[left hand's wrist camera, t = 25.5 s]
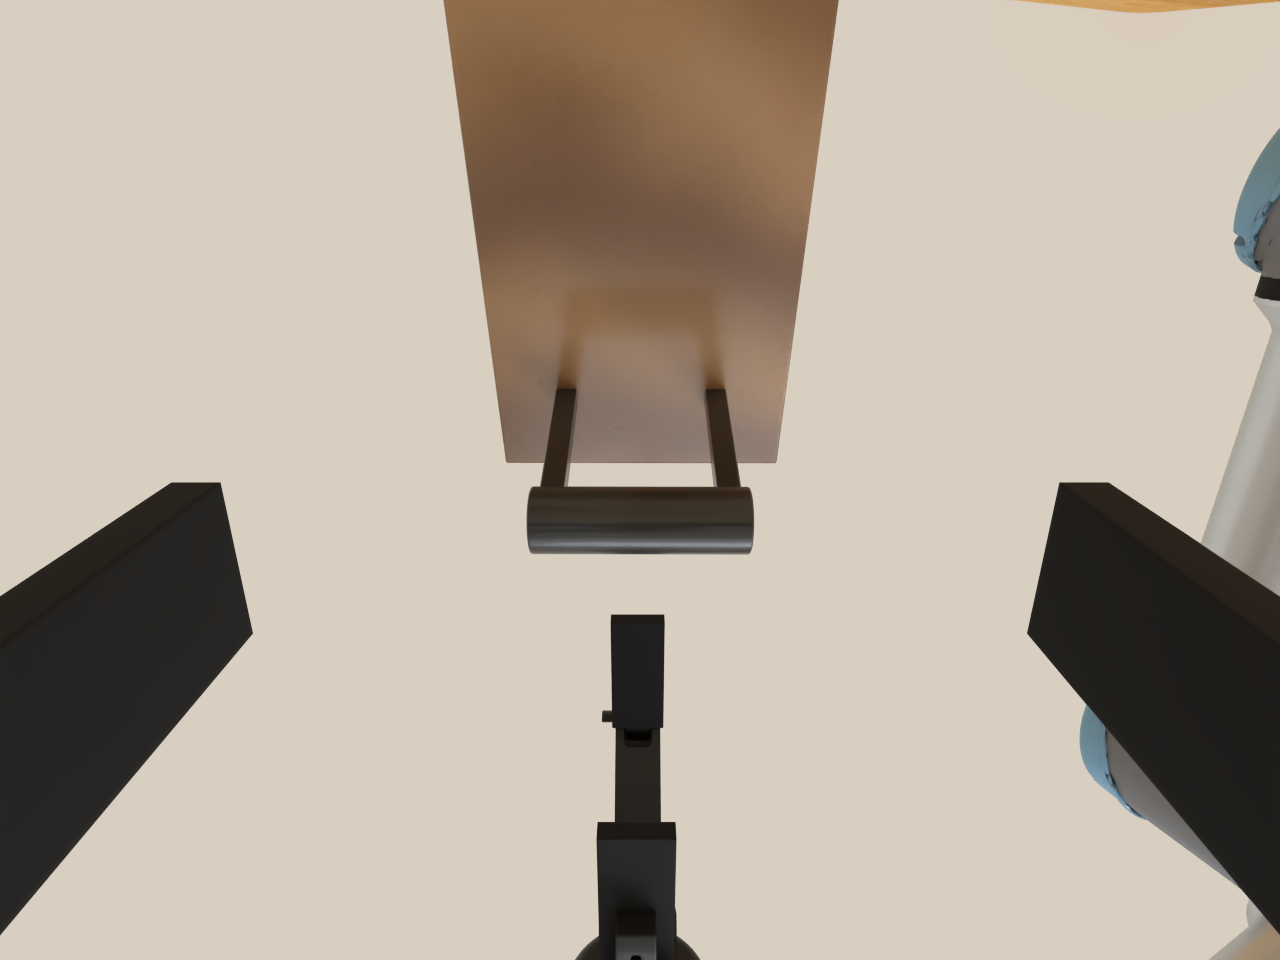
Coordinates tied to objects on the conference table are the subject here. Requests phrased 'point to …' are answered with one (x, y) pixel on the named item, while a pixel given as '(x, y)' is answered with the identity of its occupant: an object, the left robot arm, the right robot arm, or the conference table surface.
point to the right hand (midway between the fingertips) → (637, 703)
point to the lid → (641, 245)
